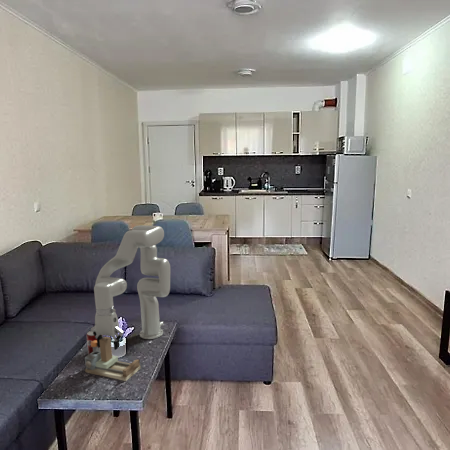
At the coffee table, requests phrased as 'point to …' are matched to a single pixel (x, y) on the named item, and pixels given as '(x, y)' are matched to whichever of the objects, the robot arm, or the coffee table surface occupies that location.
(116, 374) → the rail bed
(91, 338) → the soda can
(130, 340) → the coffee table surface
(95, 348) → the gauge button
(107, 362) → the carriage
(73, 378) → the coffee table surface
